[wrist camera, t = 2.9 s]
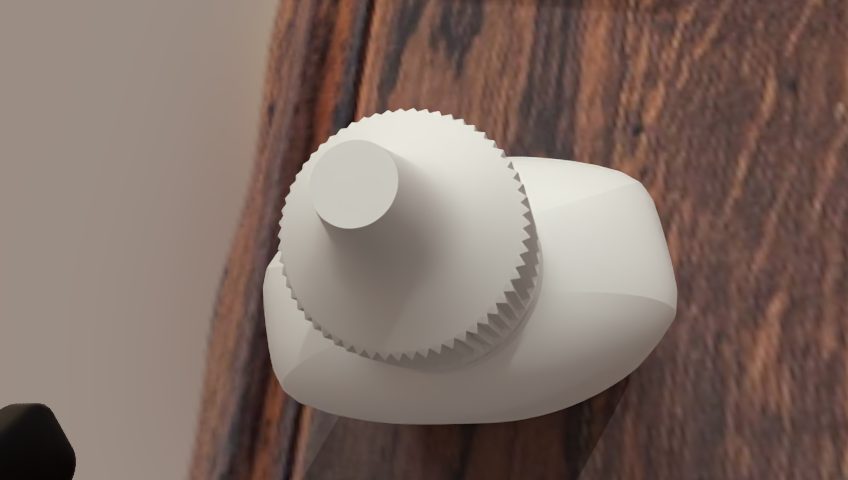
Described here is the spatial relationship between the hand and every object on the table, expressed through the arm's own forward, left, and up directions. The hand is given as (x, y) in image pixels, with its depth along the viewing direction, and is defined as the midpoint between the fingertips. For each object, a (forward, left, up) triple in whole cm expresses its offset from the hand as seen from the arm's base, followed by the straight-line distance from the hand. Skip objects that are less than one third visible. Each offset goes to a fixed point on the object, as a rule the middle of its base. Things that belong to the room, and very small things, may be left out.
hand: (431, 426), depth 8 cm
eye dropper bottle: (+2, 0, -9) cm, 9 cm away
